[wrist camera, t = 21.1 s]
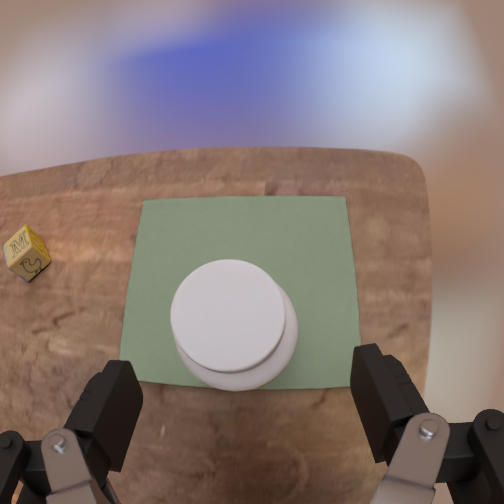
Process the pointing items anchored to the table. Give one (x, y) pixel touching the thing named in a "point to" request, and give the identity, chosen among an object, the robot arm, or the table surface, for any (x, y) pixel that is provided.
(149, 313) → the mat
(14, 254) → the alphabet block
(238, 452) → the table surface
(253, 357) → the supplement bottle
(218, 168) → the table surface
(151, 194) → the table surface
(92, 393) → the robot arm
